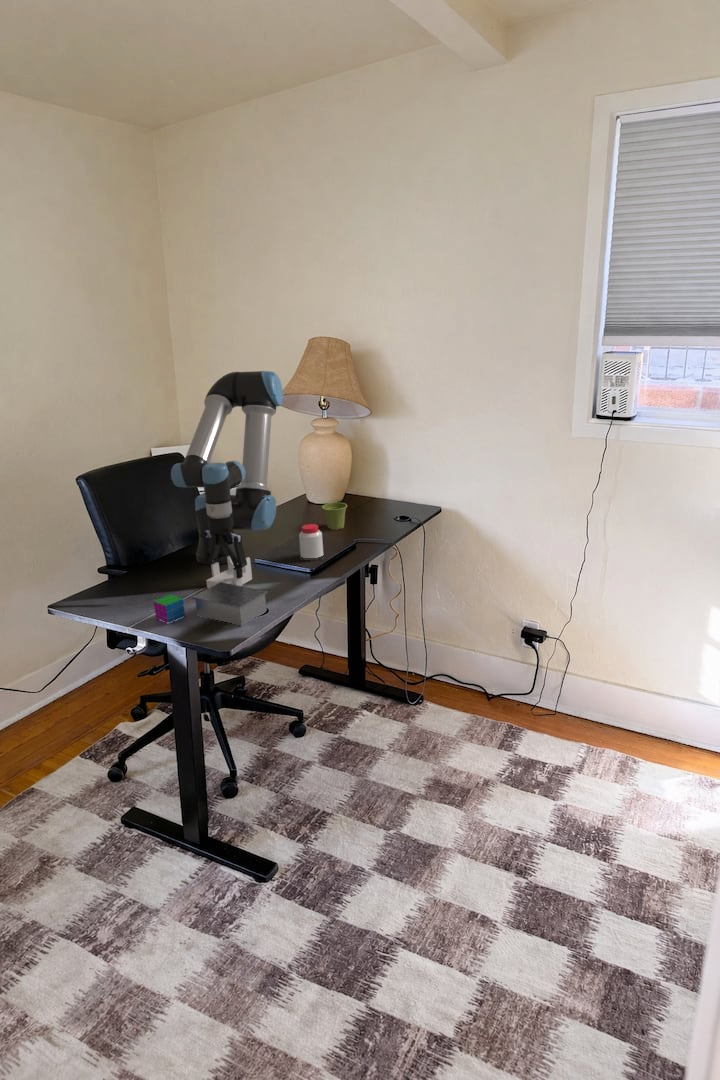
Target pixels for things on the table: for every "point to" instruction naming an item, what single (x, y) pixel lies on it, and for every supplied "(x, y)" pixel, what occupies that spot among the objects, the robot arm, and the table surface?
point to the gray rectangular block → (230, 603)
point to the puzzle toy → (169, 608)
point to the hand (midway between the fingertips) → (227, 585)
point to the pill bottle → (311, 541)
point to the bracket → (231, 574)
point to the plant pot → (335, 515)
